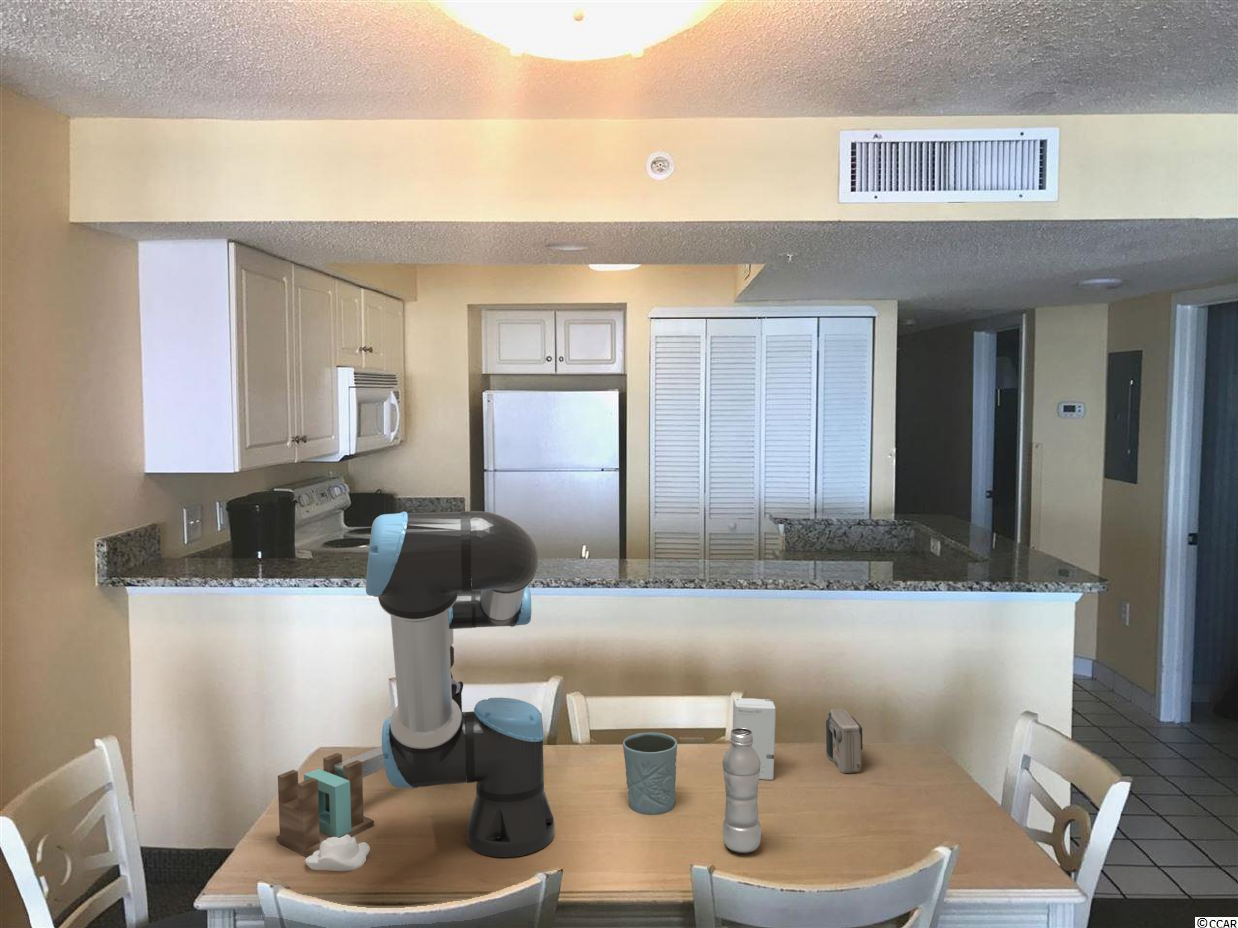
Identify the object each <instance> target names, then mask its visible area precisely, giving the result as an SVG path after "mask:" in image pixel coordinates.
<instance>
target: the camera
mask: <svg viewBox="0 0 1238 928" xmlns="http://www.w3.org/2000/svg"><path fill="white" fill-rule="evenodd" d="M827 714H828V715H827V716H826V719H825V730H826V731H825V739H826V740H825V741H826V743H825V744H826V751H825V752H826V756H827V758H828V759H829V761H833V763H834V765H835V766H836V767H837V769H838V771H839V772H841V773H842V774H849V773H851V774H852V773H860V772H861V767H862V750H863V727H862V725H861V724H860V723H859V722H858V721H857V720H856V719H855V717H853V716H851V715H850V714H849V712H848V711H847V710H846V709H844V708H831V709H830V711H829V713H827Z"/></svg>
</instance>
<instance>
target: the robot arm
mask: <svg viewBox="0 0 1238 928" xmlns="http://www.w3.org/2000/svg"><path fill="white" fill-rule="evenodd" d="M370 530H371V531H370V538H369V547H368V556H367V557H368V558H367V566H366V567H367V569H366V580H365V593H366V595H368V596H369V597H371V596H372V597H374V598H377V599H378V603H379V605H380V607H381V609H382V610H384V612H385V613H387V614H388V615H390V623H391V636H392V649H393V662H394V673H395V684H396V686H395V687H396V694H397V695H396V697H397V706H396V707H395V708H394V710H393V711H392V713H391V716H390V717H387V718H386V719H385V720H384V721H383V724H382V731H381V746H382V751H383V762H384V768H385V769H384V772H385V775H386V777H387V780H388V781H389V783H390V785H392V786H393V787H395V788H399V789H401V788H402V789H403V788H409V789H418V788H424V787H425V788H426V787H436V786H447V785H448V786H449V785H457V784H467V783H468V784H471V783H475V784H476V786H475V787H476V788H475V789H476V791H475V792H476V794H475V798H474V802H473V804H472V805H473V806H472V808H471V812H470V815H469V818H468V821H467V826H466V841H467V844H468V845H469V847H470V848H471V849H472V850H474V851H475V852H477V853H479V854H482V855H485V856H489V857H494V858H496V857H498V858H517V857H521V856H526V855H531V854H533V853H536V852H539V851H540V850H542V849H544V848H545V847H547V846H548V845H549V844H550V843H551V842H552V841H553V839H554V837H555V834H556V833H555V831H556V829H555V824H556V823H555V818H554V814H553V811H552V809H551V807H550V803H549V800H548V798H547V794H546V791H545V781H544V780H545V776H544V775H545V771H544V769H545V768H544V739H545V732H544V725H543V724H544V723H543V716H542V713H541V711H540V710H539V709H538V708H537V706H535V705H534V704H532V703H530V702H527V701H524V700H521V699H517V698H510V697H489V698H487V699H481V700H479V701H477V703H476V704H475V706H474V707H473V711H463V702H462V693H463V689H464V683H463V681H461V680H460V681H458V682H457V681H456V680H455V679H454V676H453V673H452V668H453V666H454V664H455V647H453V646H452V645H453V644H454V630H458V629H459V630H460V629H462V630H463V629H472V628H475V629H476V628H495V627H496V628H497V627H511V628H513V627H516V626H525V625H528V624H530V622H531V620H532V593H531V590H530V587H529V584H530V583H532V580H534V577H535V575H536V574H537V569H538V565H539V553H538V550H537V546H536V544H535V542H534V540H533V539H532V538H531V535H530V534H528V533H527V532H526V530H524V529H523V528H522V527H521V526H520V525H518V524H517V523H515V522H514V521H512V520H510V519H509V518H506V517H504V516H502V515H499V514H496V513H493V512H489V511H481V510H469V511H442V512H415V513H414V512H413V513H411V512H410V513H407V511H400V513H386V514H385V513H384V514H380V515H379V516H377V517H376V518H375V519H374V520H373V522H372V525H371V529H370Z"/></svg>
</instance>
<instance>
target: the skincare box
mask: <svg viewBox="0 0 1238 928" xmlns="http://www.w3.org/2000/svg"><path fill="white" fill-rule="evenodd" d="M774 703H775V702H774V701H773V699H767V698H766V699H763V698H754V697H753V698H750V697H749V698H743V697H741V698H739V697H734V698H732V729H735V728H746V729H749V730H751V731H752V733H753V744H752V745H751V746H752V747H753V749H754V750H755V751H756V753H757V755H758V756H759V759H760V763H761V766H760V775H759V780H766V781H767V780H768V781H769V780H770V781H772V780H774V773H775V771H774V769H775V739H776V710H777V709H776V706H775V704H774Z"/></svg>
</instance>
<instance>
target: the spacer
mask: <svg viewBox="0 0 1238 928" xmlns="http://www.w3.org/2000/svg"><path fill="white" fill-rule="evenodd" d="M311 778H315V779H318V803H319V830H320V831H322V832H324V833H326V834H328V835H331V836H333V837H341V836H343V835H345V834H347V833H349V832H351V800H350V781H349V780H346V779H344V778H341V777H339V776H336V775H334V774H331V773H328V772H326V771H324V769H320V768H317V769H314V770H311V771H309V772H306V773H304V774H303V781H306V780H309V779H311ZM325 793H327V794H329V804H330V812H328V811H326V805H325Z"/></svg>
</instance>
